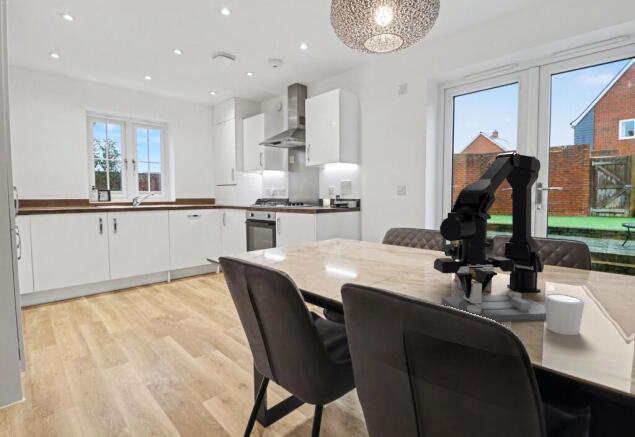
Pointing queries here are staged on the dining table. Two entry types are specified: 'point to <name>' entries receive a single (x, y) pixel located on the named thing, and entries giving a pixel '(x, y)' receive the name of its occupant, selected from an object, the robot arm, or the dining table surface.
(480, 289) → the fader
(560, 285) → the dining table surface
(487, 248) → the coffee box
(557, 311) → the white cup
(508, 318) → the console
